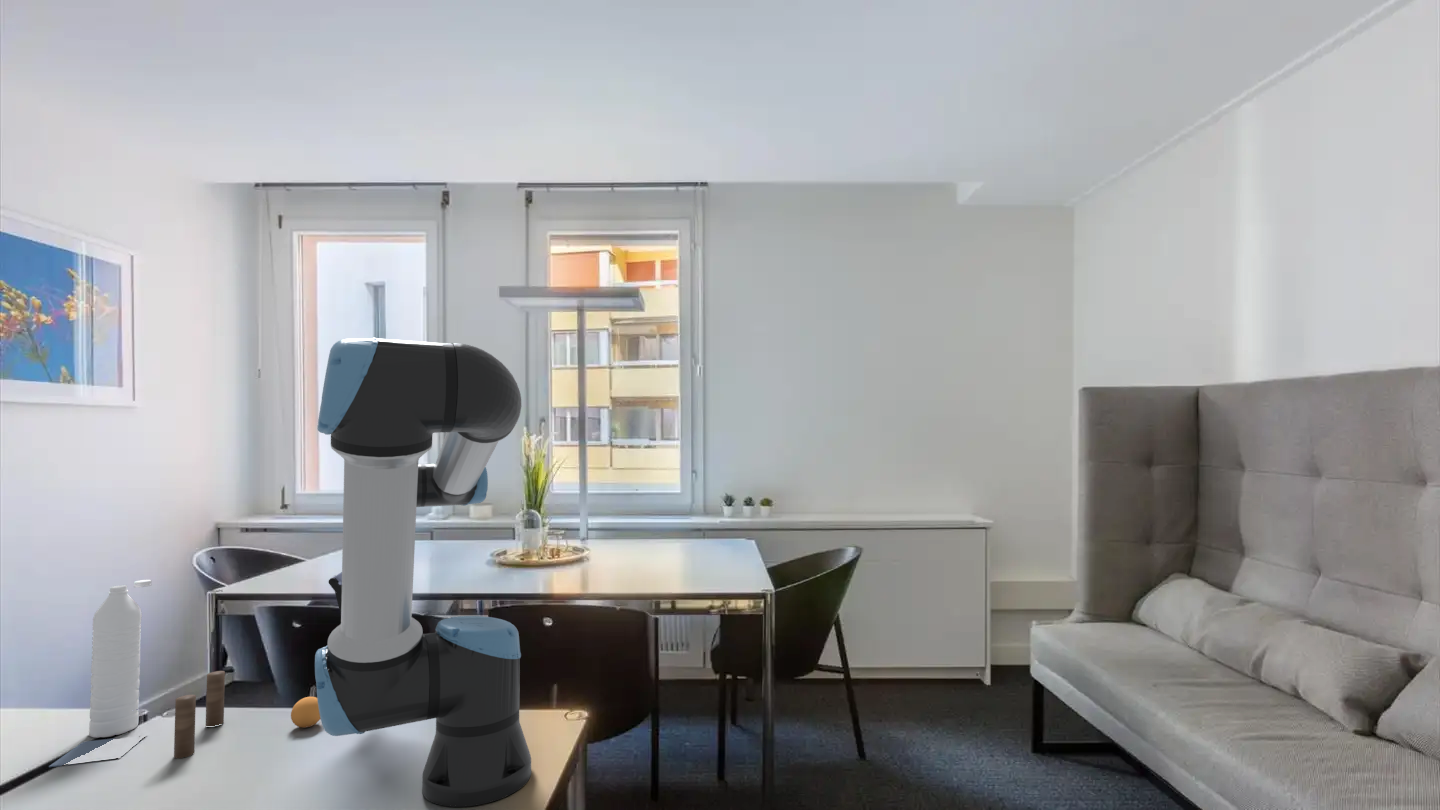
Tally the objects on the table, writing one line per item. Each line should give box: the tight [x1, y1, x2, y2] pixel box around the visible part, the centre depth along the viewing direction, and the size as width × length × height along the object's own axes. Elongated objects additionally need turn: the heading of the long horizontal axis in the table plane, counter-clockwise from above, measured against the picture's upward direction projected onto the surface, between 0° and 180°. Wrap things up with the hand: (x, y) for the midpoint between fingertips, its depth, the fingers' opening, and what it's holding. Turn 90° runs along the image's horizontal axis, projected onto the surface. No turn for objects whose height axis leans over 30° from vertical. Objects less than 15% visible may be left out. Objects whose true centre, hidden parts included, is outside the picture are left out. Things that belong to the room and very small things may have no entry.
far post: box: [205, 670, 226, 727], centre depth 122 cm, size 3×3×9 cm
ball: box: [290, 696, 321, 729], centre depth 121 cm, size 5×5×5 cm
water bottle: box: [88, 579, 152, 739], centre depth 122 cm, size 9×6×25 cm
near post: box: [173, 694, 197, 759], centre depth 111 cm, size 3×3×9 cm
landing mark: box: [48, 737, 116, 768], centre depth 112 cm, size 9×9×1 cm
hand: (367, 667), depth 125 cm, fingers closed
